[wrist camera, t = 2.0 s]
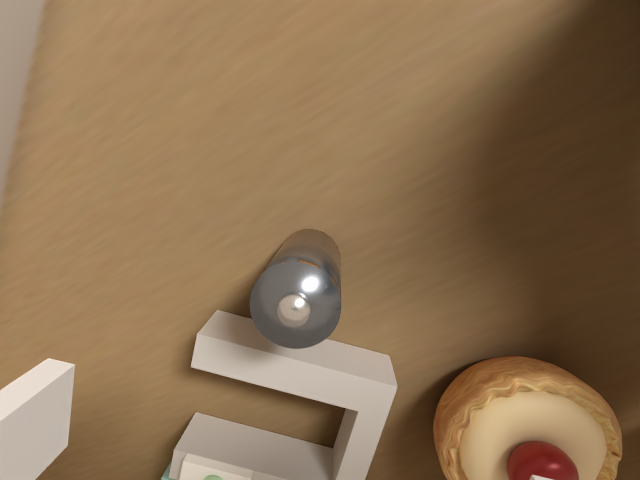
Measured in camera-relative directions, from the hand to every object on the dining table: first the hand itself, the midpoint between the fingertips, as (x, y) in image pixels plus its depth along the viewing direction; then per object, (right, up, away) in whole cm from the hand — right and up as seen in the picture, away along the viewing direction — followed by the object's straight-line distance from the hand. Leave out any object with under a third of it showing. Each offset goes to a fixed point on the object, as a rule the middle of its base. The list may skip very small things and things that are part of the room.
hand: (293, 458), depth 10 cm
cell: (0, +5, +16) cm, 17 cm away
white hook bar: (-2, -7, +19) cm, 20 cm away
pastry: (+15, -7, +18) cm, 25 cm away
